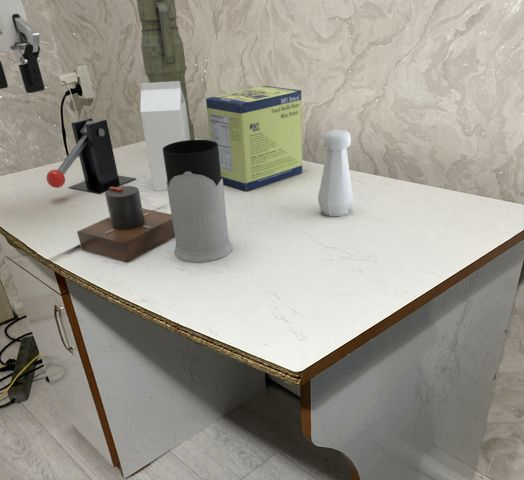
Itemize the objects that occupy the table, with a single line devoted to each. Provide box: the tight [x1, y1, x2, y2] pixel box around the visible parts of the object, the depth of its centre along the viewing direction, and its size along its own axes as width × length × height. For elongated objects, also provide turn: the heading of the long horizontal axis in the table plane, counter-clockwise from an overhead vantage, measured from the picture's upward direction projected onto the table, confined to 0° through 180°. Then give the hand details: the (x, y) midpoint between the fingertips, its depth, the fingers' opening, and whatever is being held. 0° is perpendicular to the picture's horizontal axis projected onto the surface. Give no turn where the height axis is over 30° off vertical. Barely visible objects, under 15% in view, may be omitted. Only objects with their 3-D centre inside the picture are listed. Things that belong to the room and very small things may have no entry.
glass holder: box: [163, 139, 233, 263], centre depth 79 cm, size 9×14×15 cm, turn 177°
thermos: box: [136, 0, 196, 140], centre depth 116 cm, size 9×12×35 cm
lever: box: [46, 120, 96, 189], centre depth 100 cm, size 15×3×3 cm, turn 146°
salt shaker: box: [317, 129, 354, 217], centre depth 87 cm, size 6×6×13 cm
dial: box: [104, 185, 145, 229], centre depth 82 cm, size 5×5×5 cm
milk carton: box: [139, 81, 190, 192], centre depth 100 cm, size 7×7×19 cm
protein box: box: [205, 85, 303, 192], centre depth 104 cm, size 10×16×16 cm
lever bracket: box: [68, 117, 137, 195], centre depth 105 cm, size 10×9×13 cm
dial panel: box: [76, 207, 175, 263], centre depth 84 cm, size 12×10×3 cm
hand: (17, 90), depth 88 cm, fingers open, 9 cm apart
